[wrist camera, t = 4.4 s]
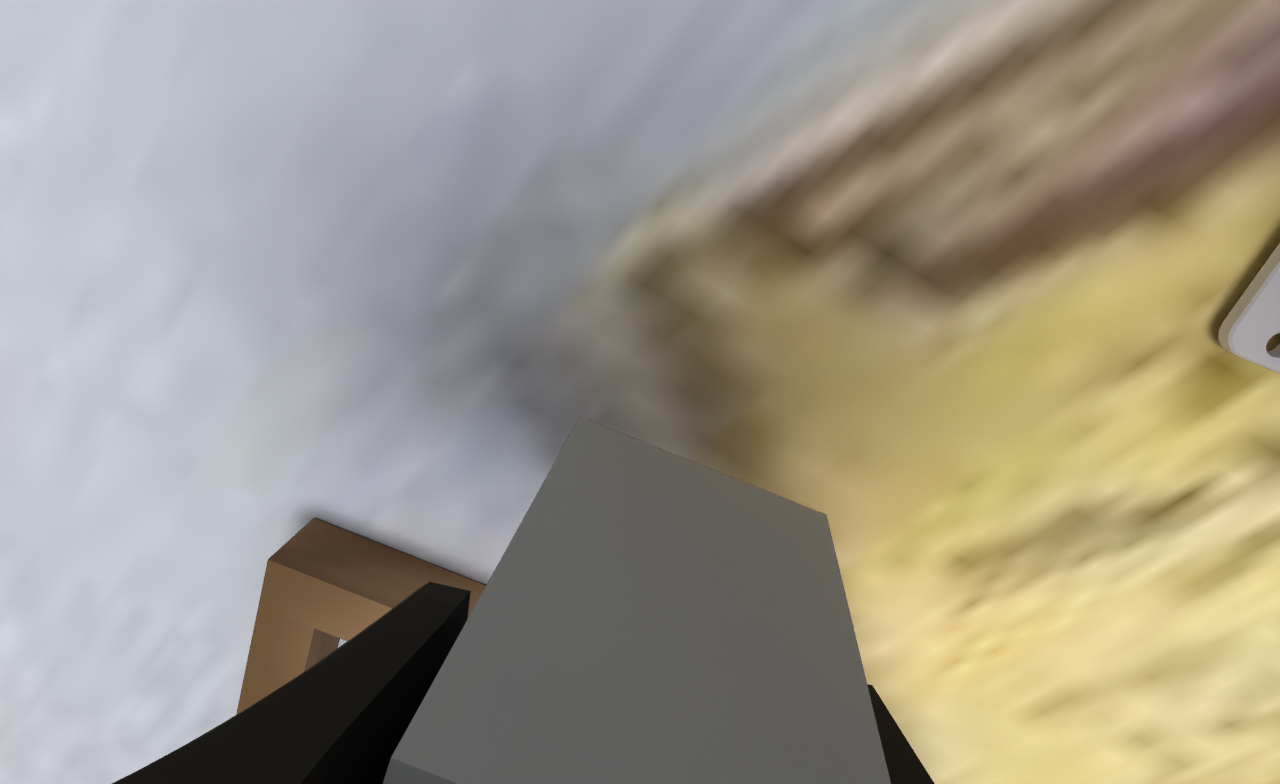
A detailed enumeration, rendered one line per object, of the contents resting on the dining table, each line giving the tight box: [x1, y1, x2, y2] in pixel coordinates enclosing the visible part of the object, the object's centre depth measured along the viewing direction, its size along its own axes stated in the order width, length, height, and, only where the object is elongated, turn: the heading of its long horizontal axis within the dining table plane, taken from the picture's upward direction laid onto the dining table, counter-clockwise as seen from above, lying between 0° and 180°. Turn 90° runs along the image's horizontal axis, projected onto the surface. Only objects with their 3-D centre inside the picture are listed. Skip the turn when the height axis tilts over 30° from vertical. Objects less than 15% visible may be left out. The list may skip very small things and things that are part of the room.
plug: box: [383, 417, 891, 784], centre depth 9 cm, size 4×4×8 cm
